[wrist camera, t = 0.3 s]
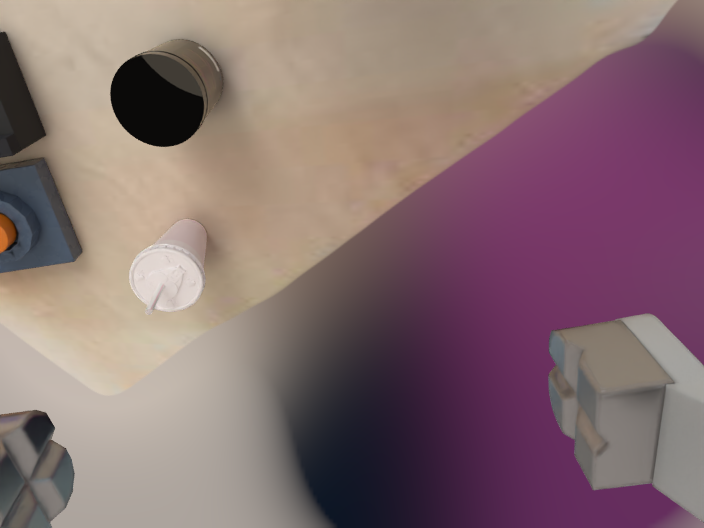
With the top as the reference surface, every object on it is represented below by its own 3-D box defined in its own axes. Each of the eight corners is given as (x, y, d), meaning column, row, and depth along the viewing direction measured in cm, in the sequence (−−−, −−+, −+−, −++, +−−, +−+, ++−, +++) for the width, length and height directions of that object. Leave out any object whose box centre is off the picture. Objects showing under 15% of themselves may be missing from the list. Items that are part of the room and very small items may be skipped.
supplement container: (131, 76, 51) (90, 100, 42) (181, 20, 49) (149, 31, 40) (191, 131, 53) (164, 165, 44) (240, 79, 51) (223, 103, 42)
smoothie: (142, 232, 58) (94, 304, 45) (187, 193, 56) (150, 257, 44) (189, 274, 60) (156, 354, 48) (233, 238, 59) (210, 311, 46)
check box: (-59, 174, 54) (-86, 188, 50) (44, 157, 54) (25, 171, 50) (-13, 266, 59) (-34, 286, 55) (82, 251, 58) (67, 270, 55)
